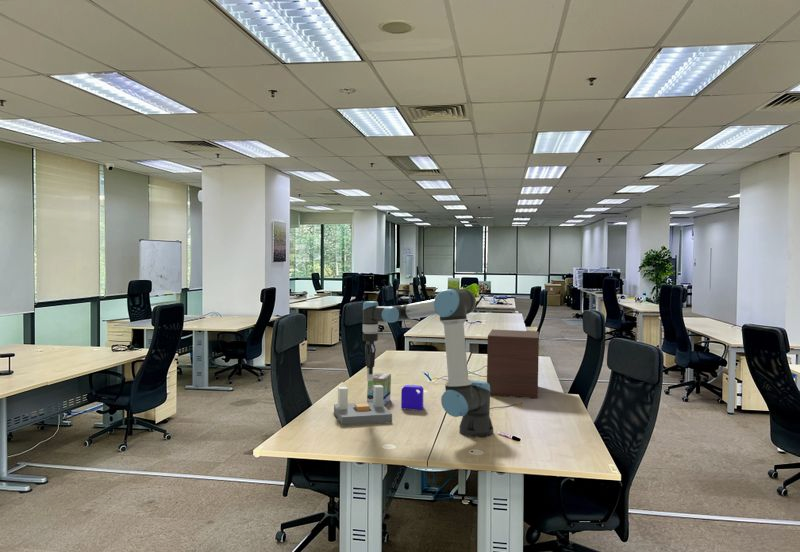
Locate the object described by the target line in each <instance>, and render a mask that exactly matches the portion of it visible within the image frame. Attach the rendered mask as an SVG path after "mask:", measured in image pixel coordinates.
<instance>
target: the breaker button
mask: <svg viewBox="0 0 800 552" xmlns="http://www.w3.org/2000/svg"><path fill="white" fill-rule="evenodd" d="M359 403H360V404H355V411H356V412H358V411H370V406H369V405H368V404H367V402H359Z"/></svg>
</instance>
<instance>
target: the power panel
mask: <svg viewBox="0 0 800 552" xmlns="http://www.w3.org/2000/svg"><path fill="white" fill-rule="evenodd" d="M360 403H361V402H355V403H354V402H352V403H350V402H349V403H348V409H340V410H339V408H338V403H336V404H335V403H334V404H333V413H334V415H335V416H336V418H337V420H338V422H339V423H340V425H341V426H342V427H344V426H358V425H359V426H360V425H361V426H362V425H376V424H375V423H377V424H387V423H386V422H392V423H393V413H392V412H391V411H390V410H389V409H388V408H387V407H386V406H385V405H383V407H376V408H375V406H374V405H373V402H368V403H367V402H366V403H367V404H368V405H369V406H370V411H358V412H356V411H355V404H360Z"/></svg>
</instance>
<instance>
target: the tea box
mask: <svg viewBox="0 0 800 552" xmlns="http://www.w3.org/2000/svg"><path fill="white" fill-rule="evenodd" d="M373 385H382V386H383V387H384V392H383V405H384V406H385V405H386V404H387V403H388V402H389V401H390V400H391V394H392V393H391V390H392V389H391V387H392V374H390V373H379V372H375V373H374V372H373V381H367V387H366V388H367V392H366V403H368V402H373Z"/></svg>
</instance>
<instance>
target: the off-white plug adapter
mask: <svg viewBox="0 0 800 552" xmlns="http://www.w3.org/2000/svg"><path fill="white" fill-rule="evenodd" d="M348 393H349V388H348V387H347V385H346V386H338V387H337V404H338V408H339V410H340V409H348V404H349V403H348V402H349V401H348V397H349V396H348V395H349V394H348Z"/></svg>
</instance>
